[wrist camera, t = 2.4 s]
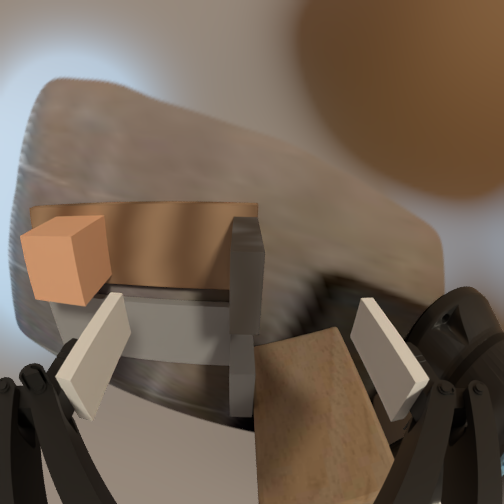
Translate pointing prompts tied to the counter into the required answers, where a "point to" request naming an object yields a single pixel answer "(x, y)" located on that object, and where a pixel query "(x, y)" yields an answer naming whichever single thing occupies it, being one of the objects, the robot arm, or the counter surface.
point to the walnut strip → (182, 248)
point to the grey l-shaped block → (177, 338)
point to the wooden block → (315, 424)
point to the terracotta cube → (67, 258)
